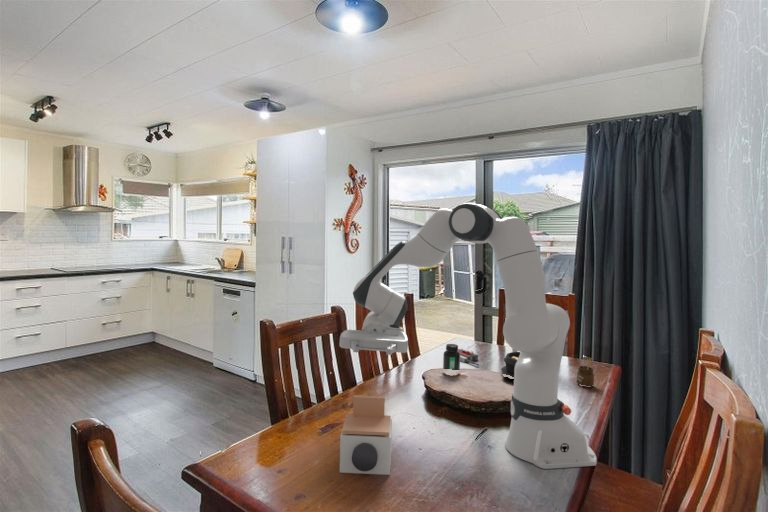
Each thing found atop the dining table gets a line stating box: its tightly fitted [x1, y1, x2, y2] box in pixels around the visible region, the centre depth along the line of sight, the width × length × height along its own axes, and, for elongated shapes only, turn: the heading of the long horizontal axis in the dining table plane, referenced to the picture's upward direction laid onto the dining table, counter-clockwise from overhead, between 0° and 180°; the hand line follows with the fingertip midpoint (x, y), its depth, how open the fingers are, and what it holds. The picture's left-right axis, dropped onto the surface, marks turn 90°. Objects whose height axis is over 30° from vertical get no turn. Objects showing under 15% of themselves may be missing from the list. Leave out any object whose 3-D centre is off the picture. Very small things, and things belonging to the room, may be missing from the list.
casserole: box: [501, 351, 521, 377], centre depth 171 cm, size 25×19×8 cm
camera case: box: [339, 418, 393, 476], centre depth 103 cm, size 12×12×9 cm
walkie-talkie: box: [458, 348, 480, 367], centre depth 192 cm, size 9×4×20 cm
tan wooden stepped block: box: [341, 394, 392, 436], centre depth 103 cm, size 11×9×6 cm
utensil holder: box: [576, 356, 595, 386], centre depth 161 cm, size 6×6×12 cm
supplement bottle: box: [442, 343, 461, 370], centre depth 172 cm, size 7×7×12 cm
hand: (372, 351), depth 116 cm, fingers open, 8 cm apart
